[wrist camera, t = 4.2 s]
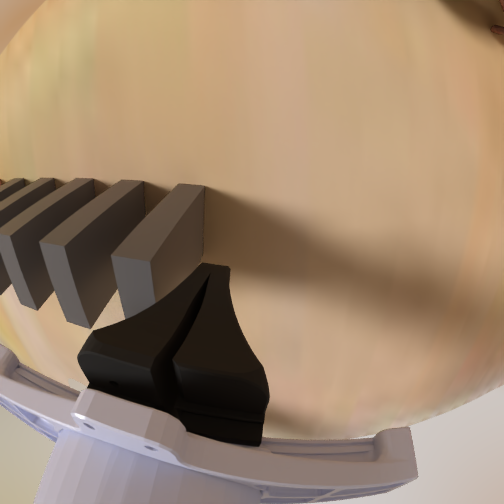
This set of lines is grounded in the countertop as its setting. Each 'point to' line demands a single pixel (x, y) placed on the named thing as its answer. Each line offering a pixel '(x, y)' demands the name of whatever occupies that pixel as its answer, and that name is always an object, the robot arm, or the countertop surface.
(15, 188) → the domino
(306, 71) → the countertop surface
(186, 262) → the domino
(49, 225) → the domino
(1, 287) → the domino
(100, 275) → the domino
